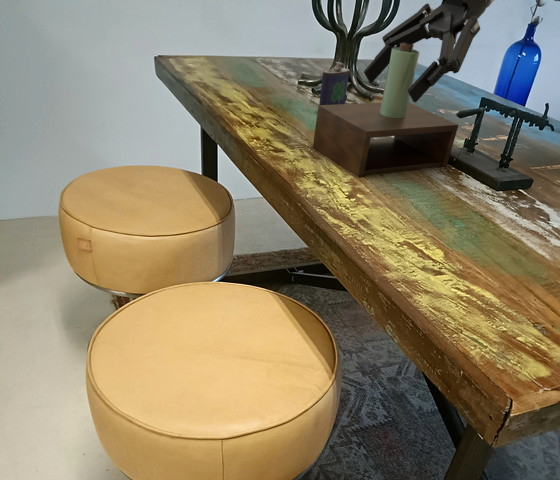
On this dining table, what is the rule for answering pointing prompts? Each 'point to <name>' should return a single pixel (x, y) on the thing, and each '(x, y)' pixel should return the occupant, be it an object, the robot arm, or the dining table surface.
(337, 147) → the shelf
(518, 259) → the dining table surface
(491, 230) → the dining table surface
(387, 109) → the canister
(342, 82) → the flask
